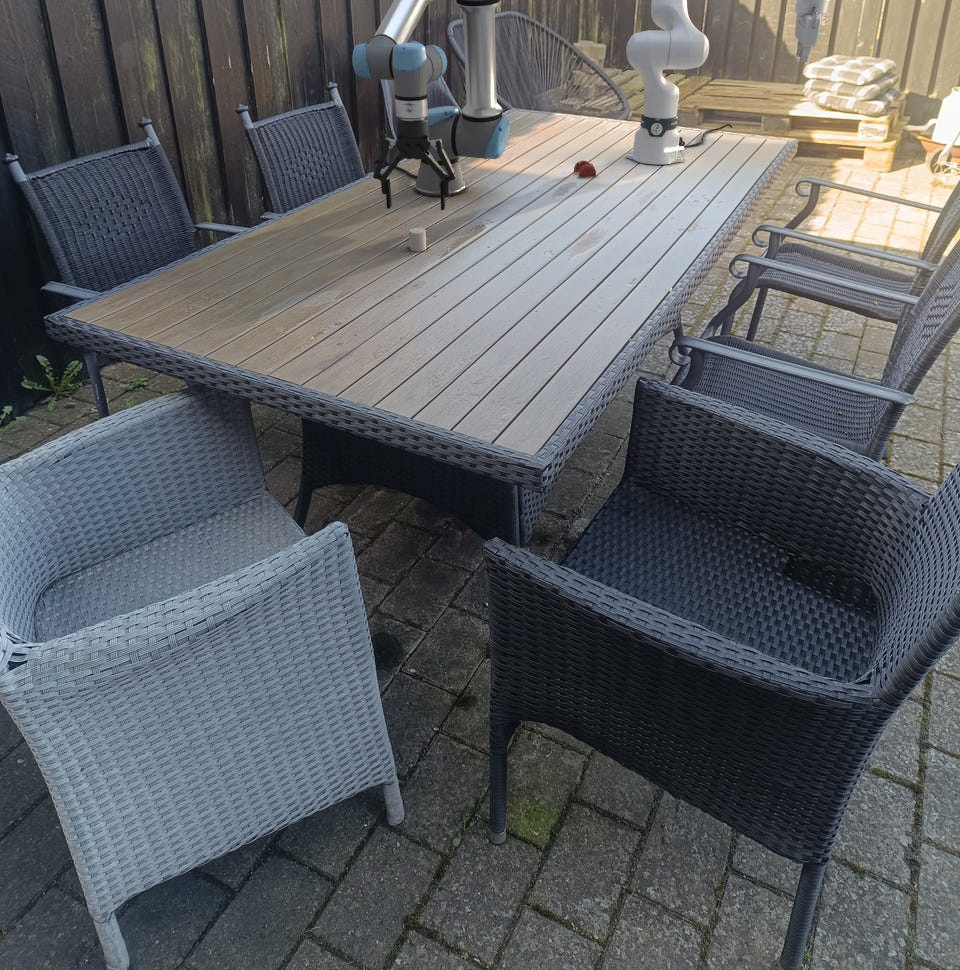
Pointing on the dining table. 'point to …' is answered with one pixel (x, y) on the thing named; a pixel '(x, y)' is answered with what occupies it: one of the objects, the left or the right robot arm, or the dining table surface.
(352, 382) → the dining table surface
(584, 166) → the dark red lumpy piece
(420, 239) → the can
